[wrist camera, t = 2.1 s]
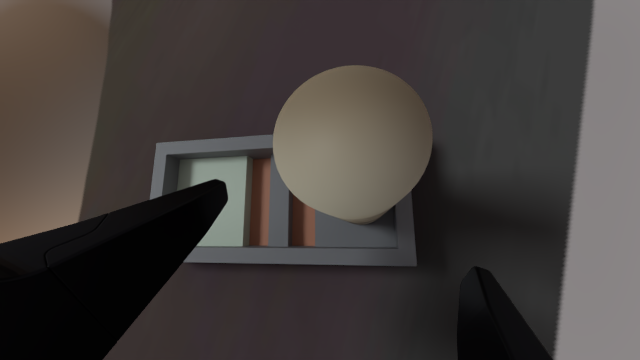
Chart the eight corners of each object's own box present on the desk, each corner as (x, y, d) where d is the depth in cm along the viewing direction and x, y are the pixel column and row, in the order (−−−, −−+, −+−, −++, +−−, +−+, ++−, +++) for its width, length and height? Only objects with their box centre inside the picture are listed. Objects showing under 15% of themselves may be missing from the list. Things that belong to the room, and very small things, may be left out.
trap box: (408, 260, 18) (416, 266, 15) (172, 256, 21) (142, 261, 18) (400, 139, 20) (406, 124, 17) (183, 153, 23) (156, 143, 20)
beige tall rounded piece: (390, 224, 17) (440, 215, 6) (332, 225, 18) (270, 217, 6) (387, 167, 18) (425, 56, 6) (331, 170, 19) (274, 74, 7)
